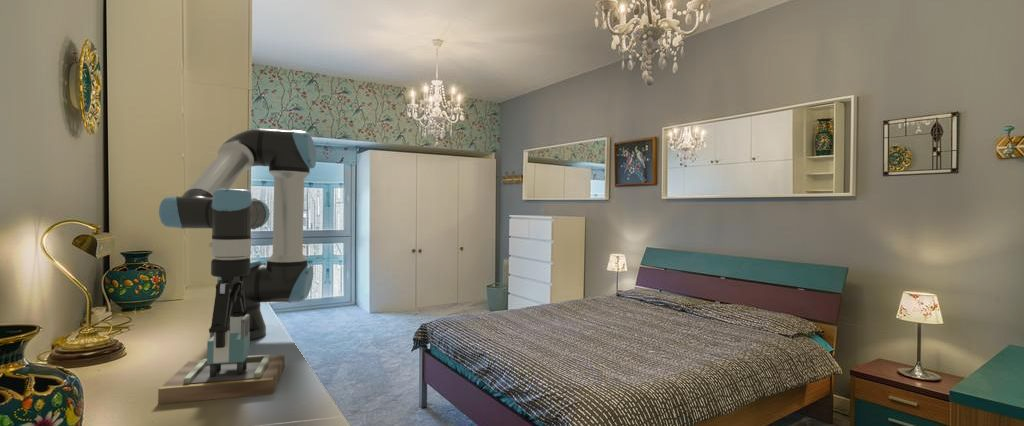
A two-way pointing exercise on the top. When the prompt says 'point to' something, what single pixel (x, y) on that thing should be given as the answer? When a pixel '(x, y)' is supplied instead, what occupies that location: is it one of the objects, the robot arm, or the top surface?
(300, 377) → the top surface
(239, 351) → the light blue chair
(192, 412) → the top surface
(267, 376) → the dock
